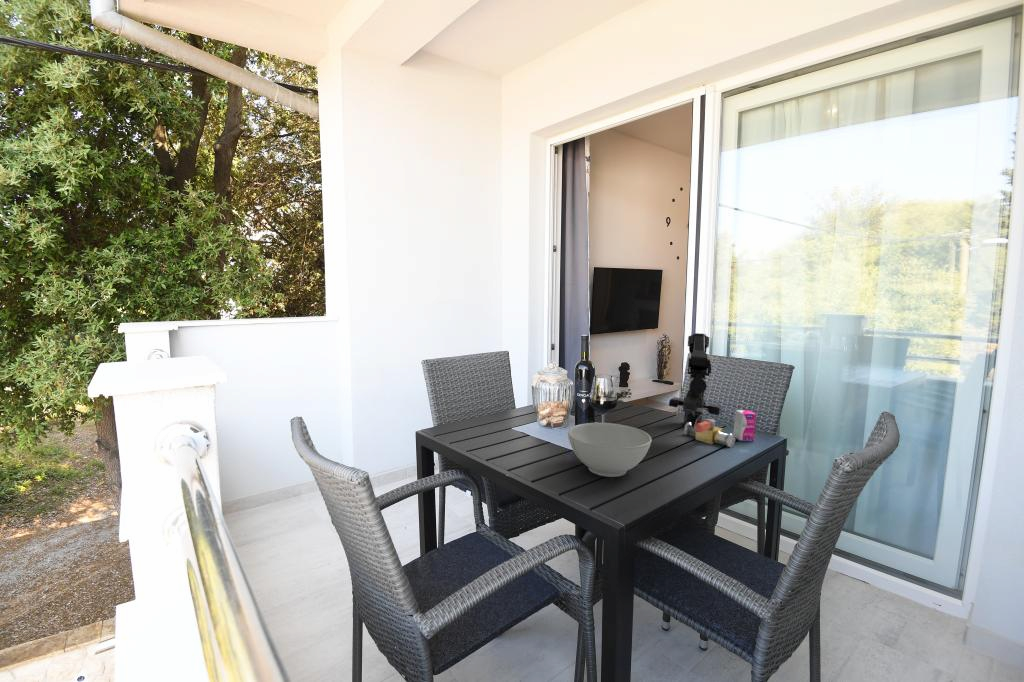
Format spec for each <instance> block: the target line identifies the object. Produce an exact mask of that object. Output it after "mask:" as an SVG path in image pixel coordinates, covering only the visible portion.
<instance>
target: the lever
mask: <svg viewBox="0 0 1024 682" xmlns="http://www.w3.org/2000/svg"><path fill="white" fill-rule="evenodd" d="M715 425H716V420H715V419H712V418H705V420H704V421H701V423H696V424H695V432H703V431H705V430H708V429H710V428H715V427H716V426H715Z"/></svg>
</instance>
